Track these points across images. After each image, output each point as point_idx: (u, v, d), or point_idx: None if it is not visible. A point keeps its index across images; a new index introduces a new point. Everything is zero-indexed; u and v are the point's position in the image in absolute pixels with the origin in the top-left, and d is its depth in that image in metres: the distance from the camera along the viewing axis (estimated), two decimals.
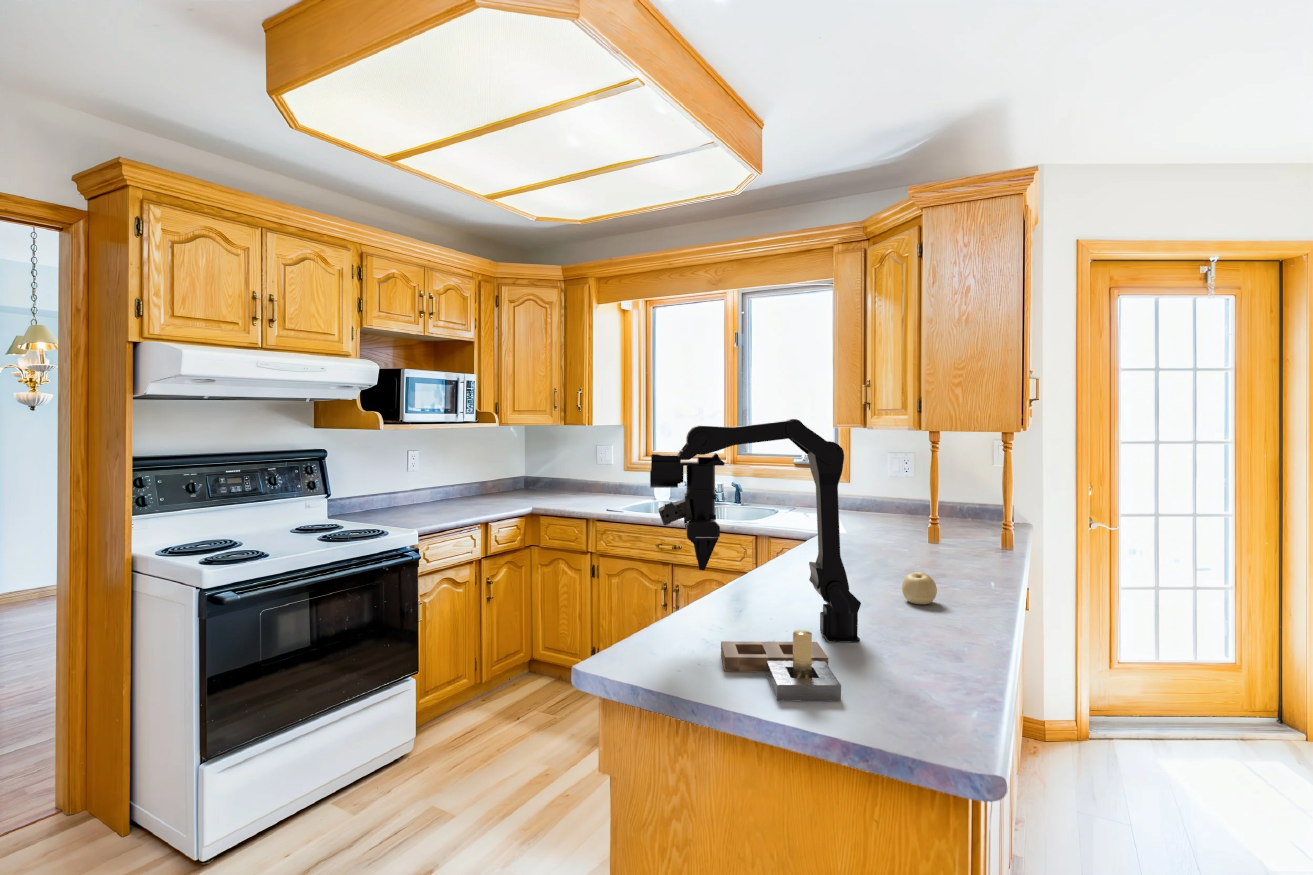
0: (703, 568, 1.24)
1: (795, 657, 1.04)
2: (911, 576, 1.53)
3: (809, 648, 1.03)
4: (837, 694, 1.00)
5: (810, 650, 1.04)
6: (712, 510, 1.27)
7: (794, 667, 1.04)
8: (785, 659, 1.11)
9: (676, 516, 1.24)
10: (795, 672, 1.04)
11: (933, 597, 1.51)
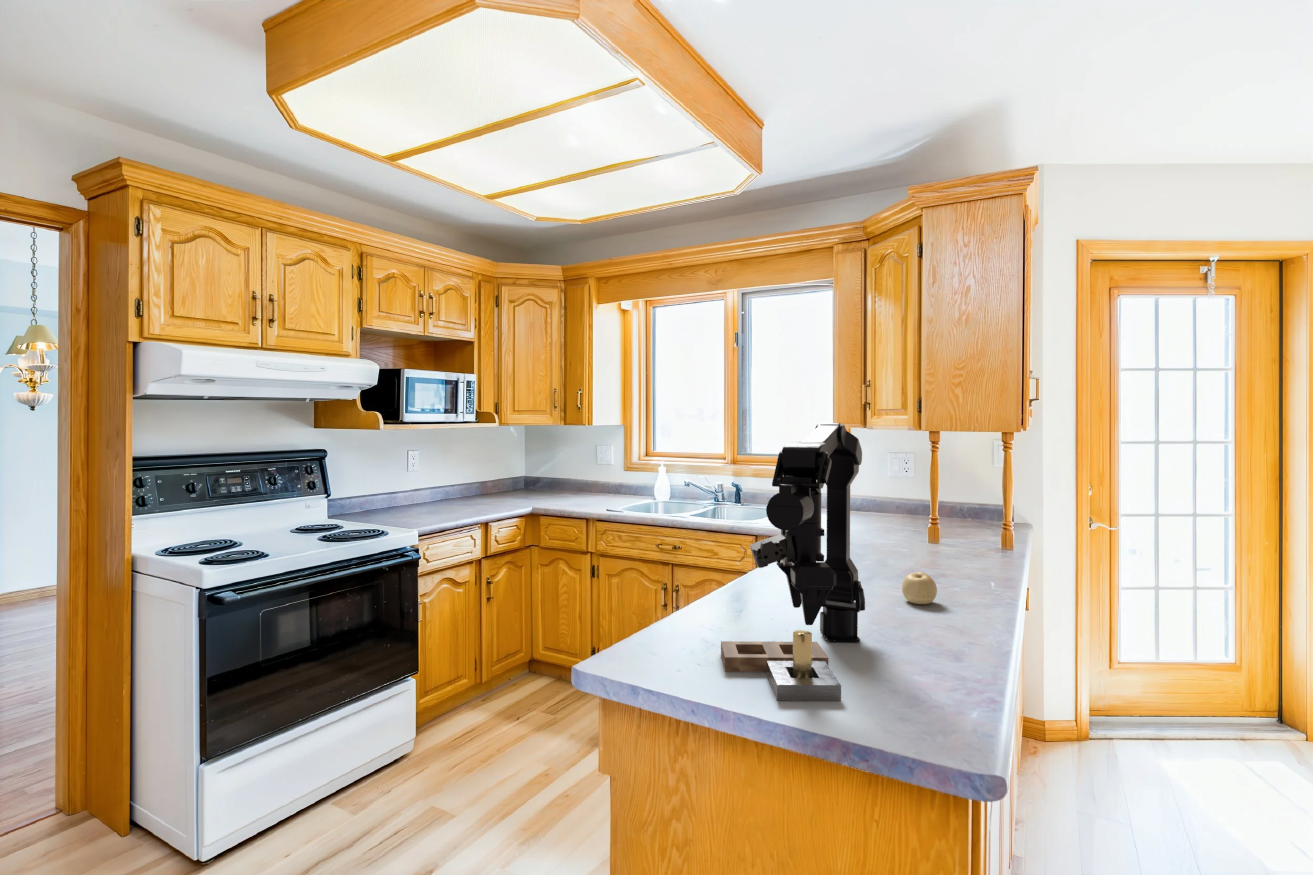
0: (811, 622, 1.00)
1: (795, 657, 1.04)
2: (911, 576, 1.53)
3: (809, 648, 1.03)
4: (837, 694, 1.00)
5: (810, 650, 1.04)
6: (819, 549, 1.02)
7: (794, 667, 1.04)
8: (785, 659, 1.11)
9: (777, 558, 1.00)
10: (795, 672, 1.04)
11: (933, 597, 1.51)
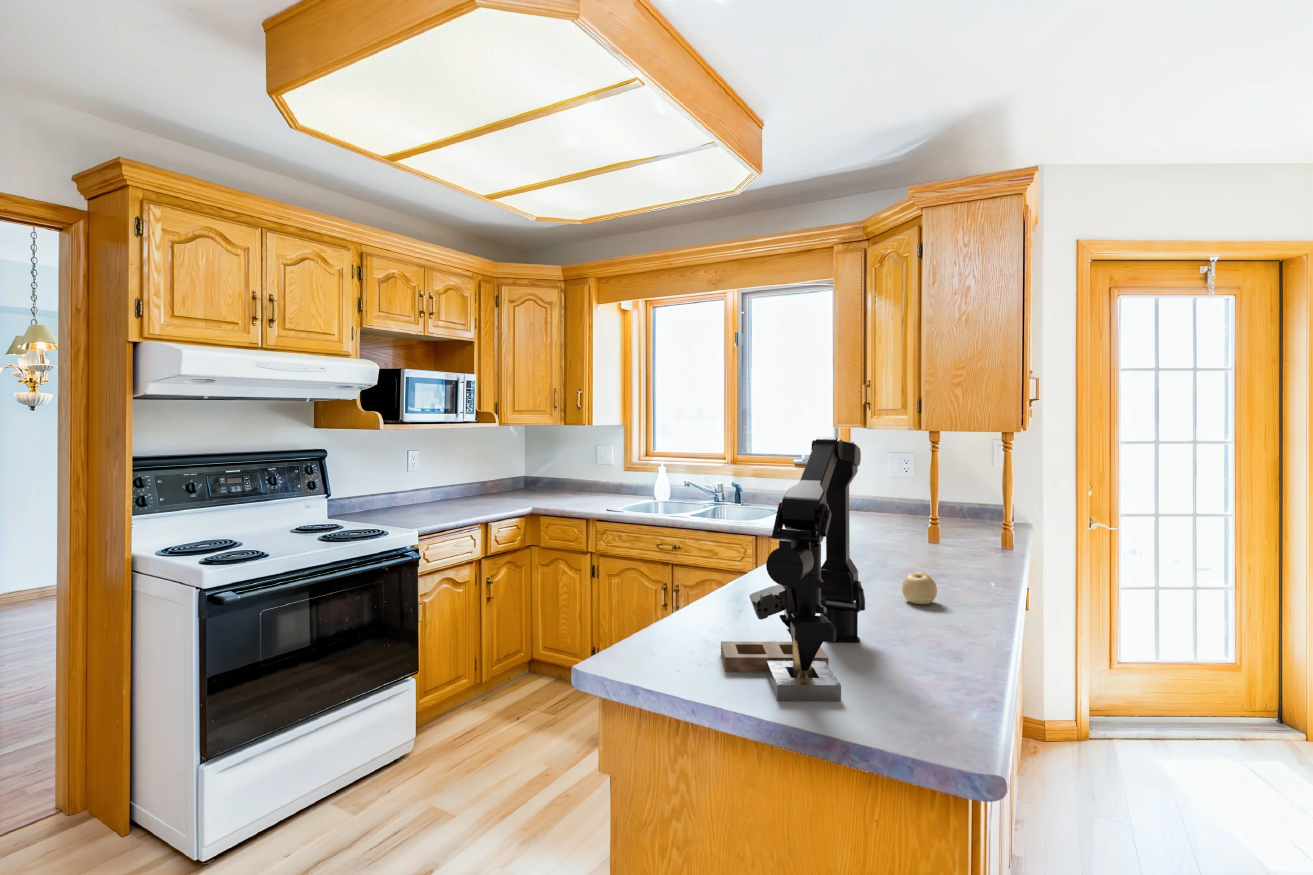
0: (806, 668, 1.03)
1: (795, 657, 1.04)
2: (911, 576, 1.53)
3: None
4: (837, 694, 1.00)
5: None
6: (819, 601, 1.02)
7: (794, 667, 1.04)
8: (785, 659, 1.11)
9: (776, 610, 1.00)
10: (795, 672, 1.04)
11: (933, 597, 1.51)
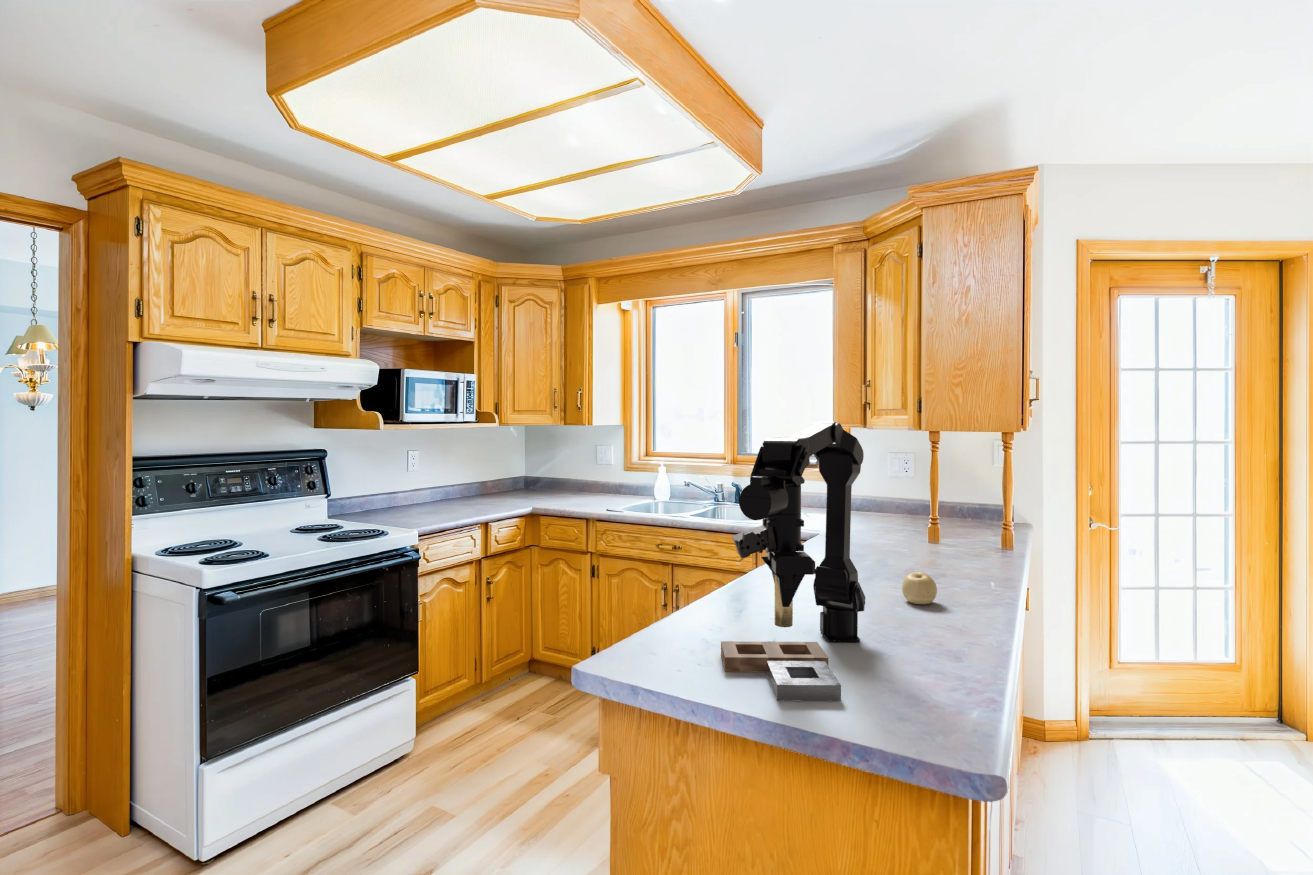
0: (787, 604, 1.06)
1: (777, 595, 1.07)
2: (911, 576, 1.53)
3: None
4: (837, 694, 1.00)
5: None
6: (799, 539, 1.06)
7: (776, 604, 1.08)
8: (785, 659, 1.11)
9: (758, 548, 1.04)
10: (777, 609, 1.07)
11: (933, 597, 1.51)
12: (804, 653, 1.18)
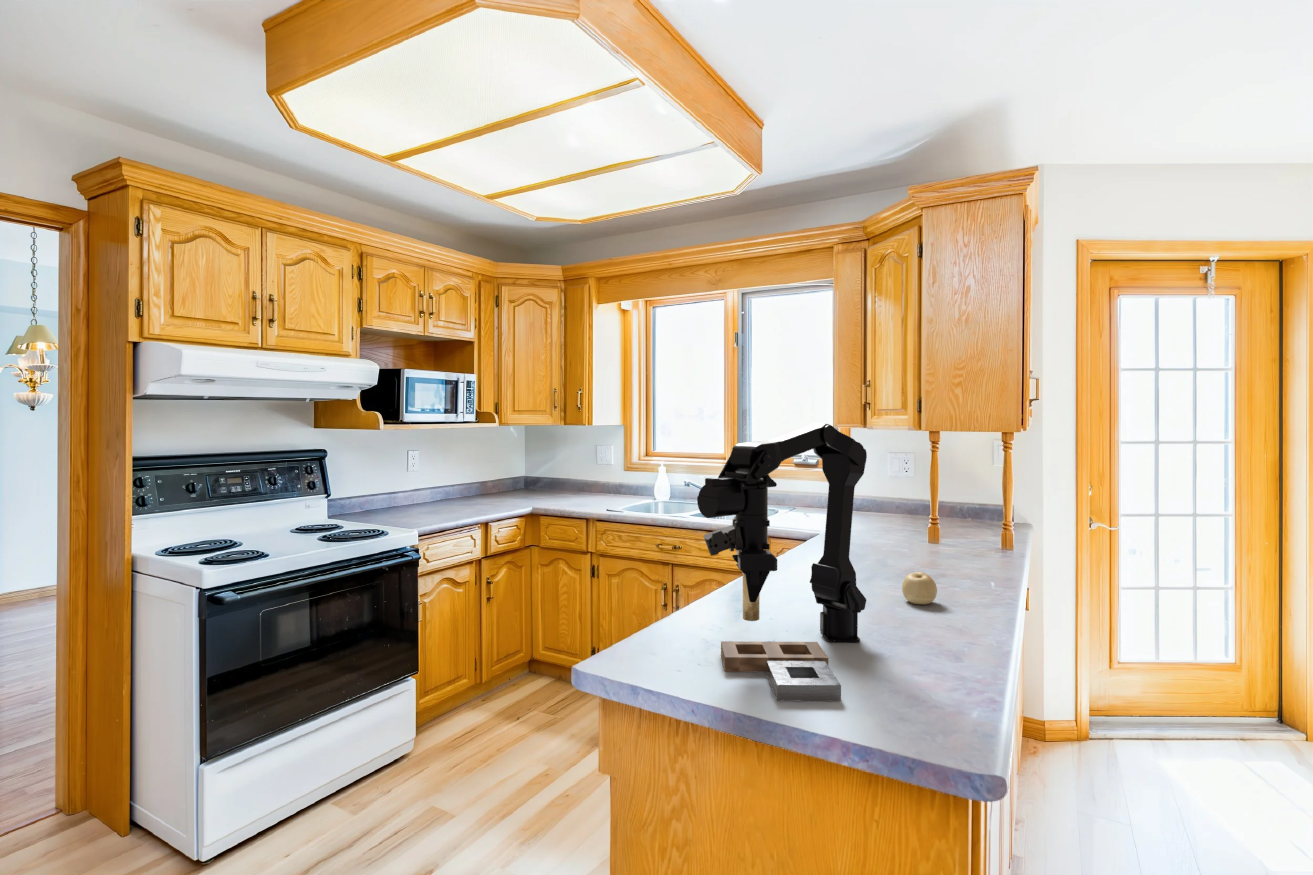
0: (754, 600, 1.13)
1: (744, 590, 1.14)
2: (911, 576, 1.53)
3: None
4: (837, 694, 1.00)
5: None
6: (765, 538, 1.13)
7: (743, 599, 1.14)
8: (785, 659, 1.11)
9: (726, 546, 1.10)
10: (744, 604, 1.14)
11: (933, 597, 1.51)
12: (804, 653, 1.18)
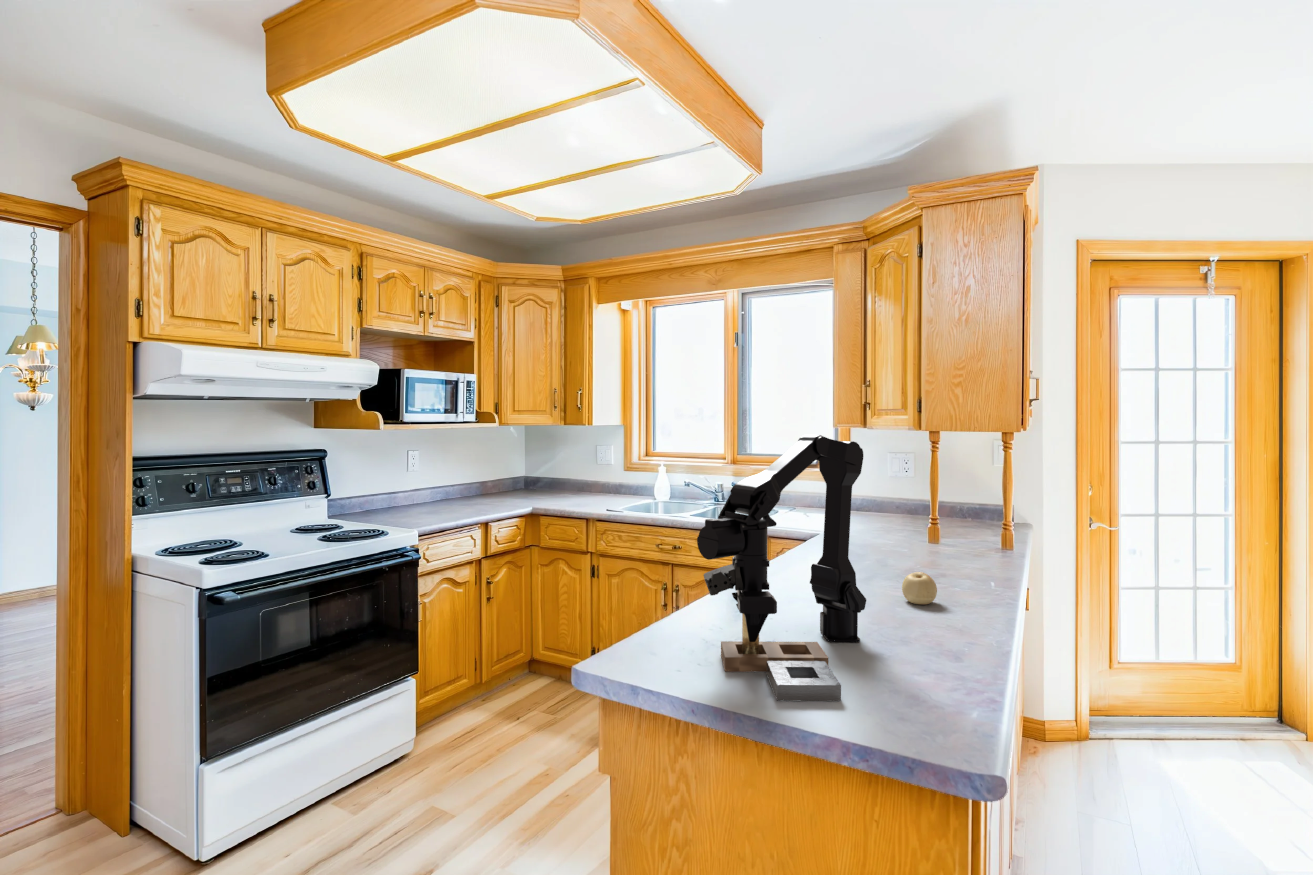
0: (754, 639, 1.13)
1: (744, 630, 1.14)
2: (911, 576, 1.53)
3: None
4: (837, 694, 1.00)
5: None
6: (765, 578, 1.13)
7: (743, 639, 1.15)
8: (785, 659, 1.11)
9: (725, 587, 1.11)
10: (744, 643, 1.14)
11: (933, 597, 1.51)
12: (804, 653, 1.18)
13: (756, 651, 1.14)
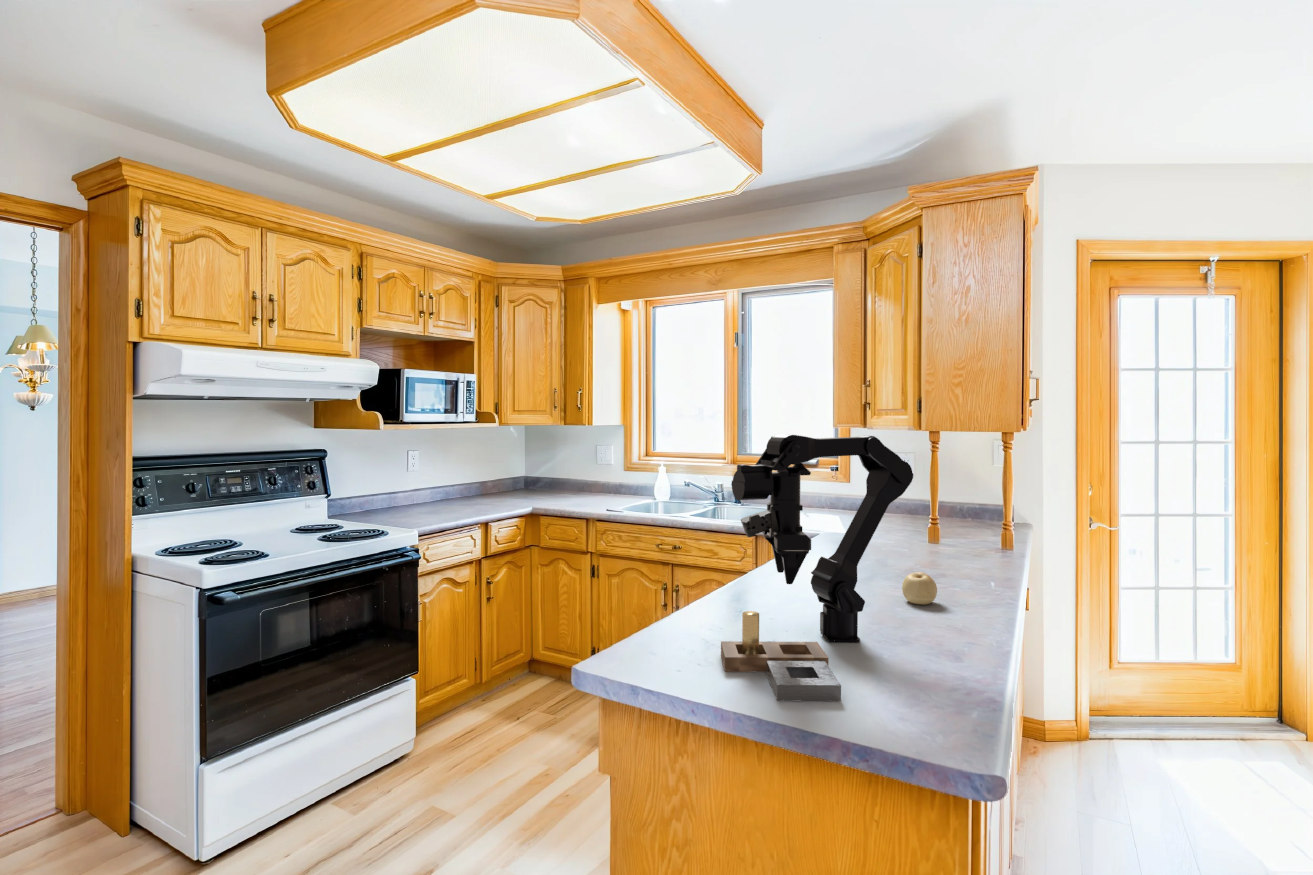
0: (791, 582, 1.20)
1: (744, 635, 1.14)
2: (912, 576, 1.53)
3: (756, 627, 1.14)
4: (837, 694, 1.00)
5: (757, 629, 1.14)
6: (798, 522, 1.23)
7: (743, 644, 1.15)
8: (785, 659, 1.11)
9: (763, 528, 1.20)
10: (744, 649, 1.14)
11: (933, 597, 1.51)
12: (804, 653, 1.18)
13: None
